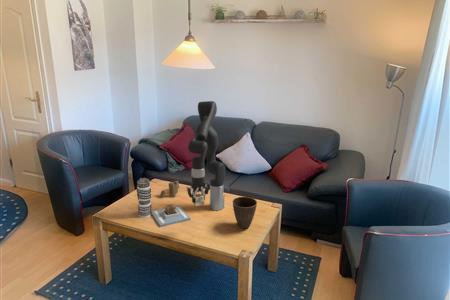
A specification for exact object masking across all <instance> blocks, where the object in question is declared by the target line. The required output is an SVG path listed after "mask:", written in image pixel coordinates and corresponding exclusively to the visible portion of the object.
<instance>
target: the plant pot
mask: <svg viewBox="0 0 450 300" xmlns="http://www.w3.org/2000/svg"><path fill="white" fill-rule="evenodd" d="M257 205H258V201H257V200H256V199H255V198H254V197H253V198H252V197H250V196H238V197H235V198H233V200H232V207H233V213H234V217H235V221H236V223H237V226H238V227H240V228H241V229H247V228H248V229H249V227H250V226H251V224H252V222H253V219H254V217H255V215H256V210H257Z"/></svg>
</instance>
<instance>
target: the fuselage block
mask: <svg viewBox="0 0 450 300" xmlns="http://www.w3.org/2000/svg"><path fill="white" fill-rule="evenodd" d="M175 206H176V205H174V204H173V203H171V204H166V205H165V208H164V209H166V215H171V214H176V213H175Z"/></svg>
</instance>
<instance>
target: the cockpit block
mask: <svg viewBox="0 0 450 300" xmlns="http://www.w3.org/2000/svg"><path fill="white" fill-rule="evenodd" d="M194 206H195V207H198V206H199V207H200V206H205V200H204V196H203V195H202V193H201V192H199V193H197V194H196V196H195V204H194Z"/></svg>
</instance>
